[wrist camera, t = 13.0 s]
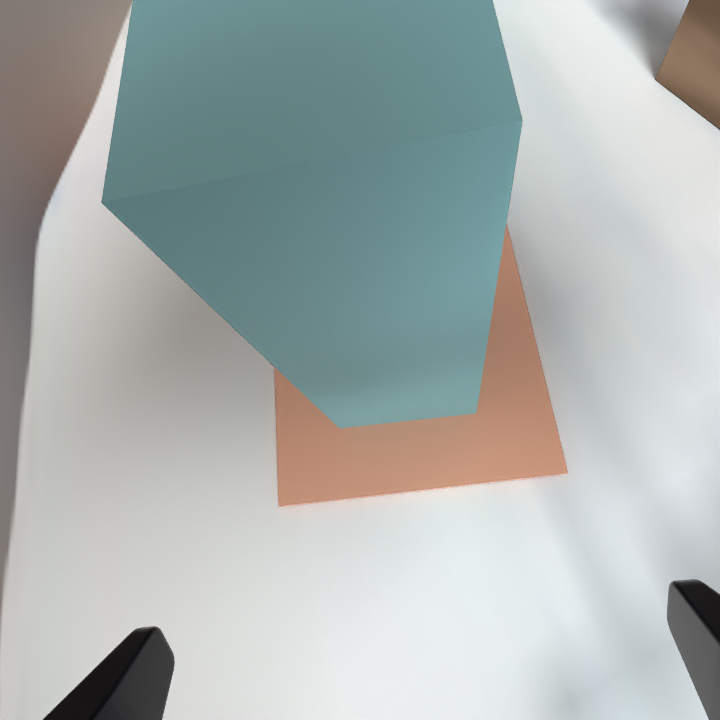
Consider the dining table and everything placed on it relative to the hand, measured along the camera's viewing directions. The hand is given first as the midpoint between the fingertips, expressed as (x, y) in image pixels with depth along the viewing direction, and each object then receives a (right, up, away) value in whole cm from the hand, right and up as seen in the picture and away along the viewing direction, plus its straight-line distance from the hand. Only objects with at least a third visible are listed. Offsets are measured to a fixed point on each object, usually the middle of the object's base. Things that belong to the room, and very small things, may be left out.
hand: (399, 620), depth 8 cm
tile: (+1, +5, +10) cm, 11 cm away
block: (+1, +5, +10) cm, 11 cm away
